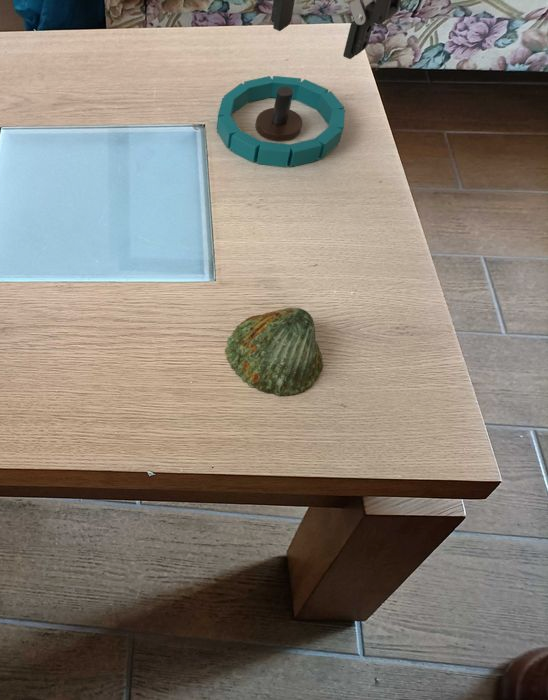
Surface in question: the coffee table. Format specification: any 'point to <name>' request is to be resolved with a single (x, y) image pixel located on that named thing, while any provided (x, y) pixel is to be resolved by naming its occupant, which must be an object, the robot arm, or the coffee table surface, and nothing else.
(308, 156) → the ring
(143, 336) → the coffee table surface
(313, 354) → the seashell
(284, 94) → the peg stand
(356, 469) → the coffee table surface
